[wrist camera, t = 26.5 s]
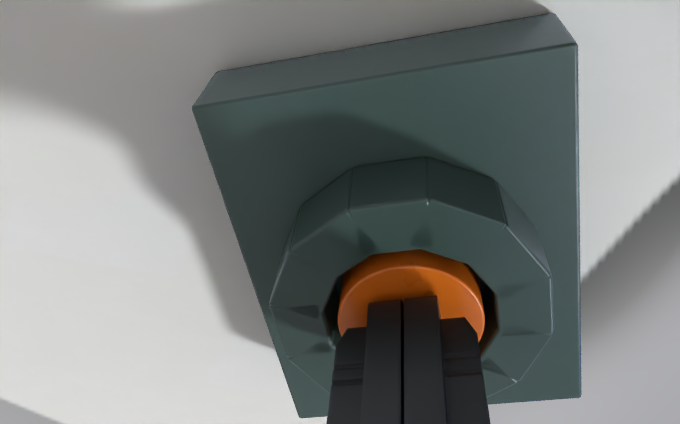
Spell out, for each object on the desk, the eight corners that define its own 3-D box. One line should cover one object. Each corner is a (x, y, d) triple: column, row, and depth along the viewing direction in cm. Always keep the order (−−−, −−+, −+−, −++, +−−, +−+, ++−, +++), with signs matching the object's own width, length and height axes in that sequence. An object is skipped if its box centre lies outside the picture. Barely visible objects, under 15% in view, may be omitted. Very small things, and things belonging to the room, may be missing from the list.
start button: (330, 228, 15) (323, 275, 13) (470, 211, 14) (478, 257, 13) (357, 330, 16) (352, 382, 15) (482, 318, 16) (491, 370, 14)
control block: (214, 71, 16) (163, 144, 12) (555, 11, 14) (603, 75, 11) (307, 364, 21) (290, 473, 17) (564, 341, 19) (599, 455, 16)
